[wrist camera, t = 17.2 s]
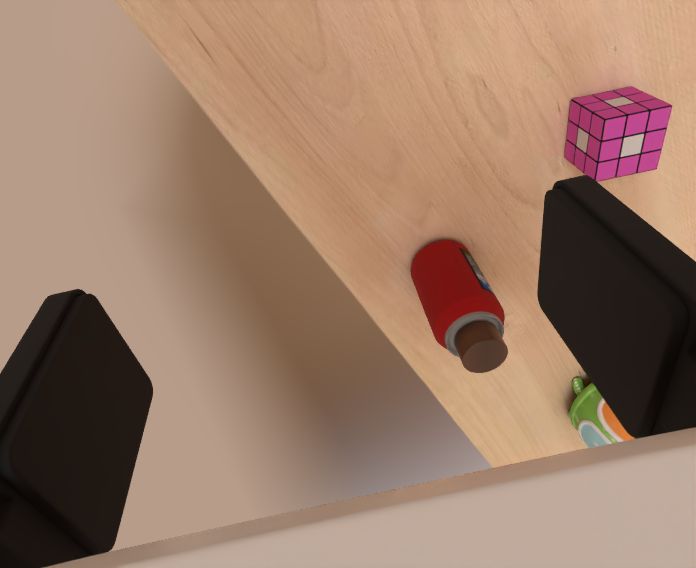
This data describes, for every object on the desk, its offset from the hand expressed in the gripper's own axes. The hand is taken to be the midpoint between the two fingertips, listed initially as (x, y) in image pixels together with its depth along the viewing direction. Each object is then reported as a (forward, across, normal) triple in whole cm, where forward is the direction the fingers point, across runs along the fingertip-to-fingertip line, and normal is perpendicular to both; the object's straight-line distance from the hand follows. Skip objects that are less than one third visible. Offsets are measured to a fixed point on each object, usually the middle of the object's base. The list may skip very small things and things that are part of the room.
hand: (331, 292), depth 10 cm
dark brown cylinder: (+22, -10, +26) cm, 36 cm away
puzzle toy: (+34, -26, +14) cm, 45 cm away
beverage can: (+34, -10, +26) cm, 44 cm away
